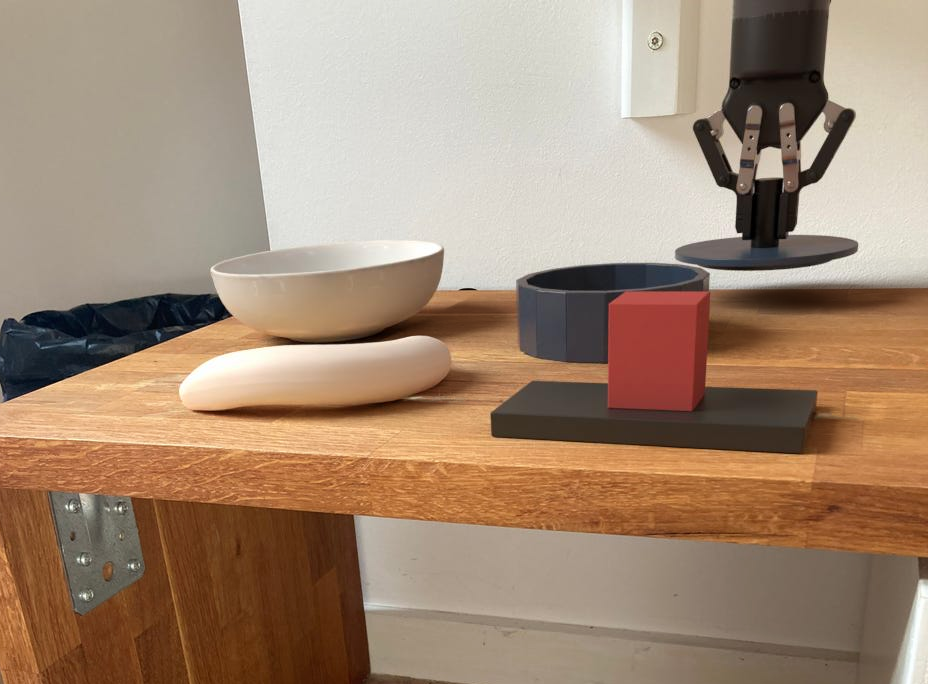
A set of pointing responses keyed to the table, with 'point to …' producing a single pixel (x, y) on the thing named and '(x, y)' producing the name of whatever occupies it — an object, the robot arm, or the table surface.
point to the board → (660, 418)
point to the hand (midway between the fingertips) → (765, 237)
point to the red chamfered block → (658, 350)
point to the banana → (318, 374)
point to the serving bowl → (330, 288)
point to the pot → (588, 305)
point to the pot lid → (766, 241)
